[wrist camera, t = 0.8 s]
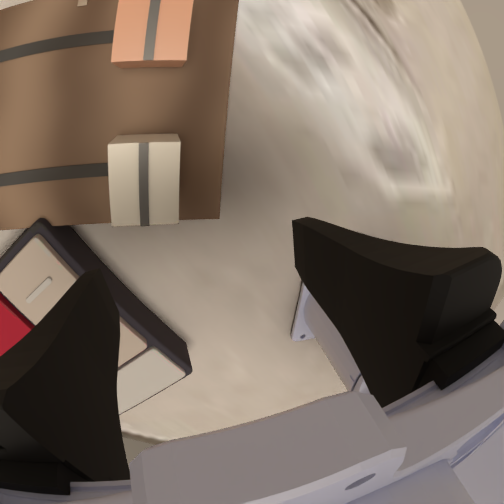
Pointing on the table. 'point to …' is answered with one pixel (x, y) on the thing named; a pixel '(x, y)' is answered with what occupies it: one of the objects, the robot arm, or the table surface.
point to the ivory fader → (144, 179)
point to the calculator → (56, 285)
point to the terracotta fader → (151, 33)
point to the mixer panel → (103, 109)
